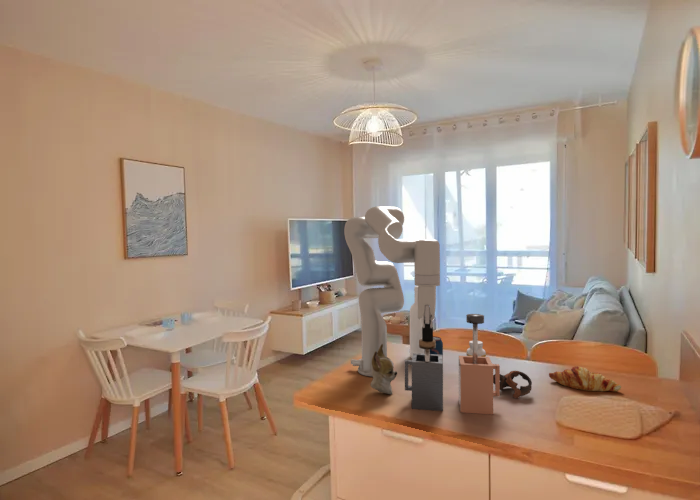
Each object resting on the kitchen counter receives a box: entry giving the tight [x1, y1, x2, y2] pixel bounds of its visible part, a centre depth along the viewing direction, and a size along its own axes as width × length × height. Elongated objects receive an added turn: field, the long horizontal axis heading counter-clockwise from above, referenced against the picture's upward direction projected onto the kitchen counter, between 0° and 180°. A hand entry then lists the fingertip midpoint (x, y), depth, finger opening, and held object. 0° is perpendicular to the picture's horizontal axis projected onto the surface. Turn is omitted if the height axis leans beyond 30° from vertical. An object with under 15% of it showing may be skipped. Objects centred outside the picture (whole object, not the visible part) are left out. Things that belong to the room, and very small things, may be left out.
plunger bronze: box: [419, 339, 436, 362], centre depth 126 cm, size 6×6×18 cm
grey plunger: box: [465, 313, 485, 364], centre depth 123 cm, size 6×6×18 cm
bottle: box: [409, 285, 425, 359], centre depth 174 cm, size 8×8×30 cm
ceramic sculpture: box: [370, 344, 398, 395], centre depth 134 cm, size 11×9×15 cm
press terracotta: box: [458, 355, 501, 415], centre depth 123 cm, size 11×9×14 cm
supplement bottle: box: [466, 340, 487, 357], centre depth 149 cm, size 7×7×13 cm
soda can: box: [430, 335, 444, 360], centre depth 159 cm, size 7×7×12 cm
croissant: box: [548, 365, 622, 392], centre depth 139 cm, size 21×10×8 cm, turn 61°
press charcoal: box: [404, 354, 444, 412], centre depth 126 cm, size 11×9×14 cm
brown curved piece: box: [493, 370, 533, 400], centre depth 134 cm, size 12×10×8 cm
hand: (427, 340), depth 125 cm, fingers closed
